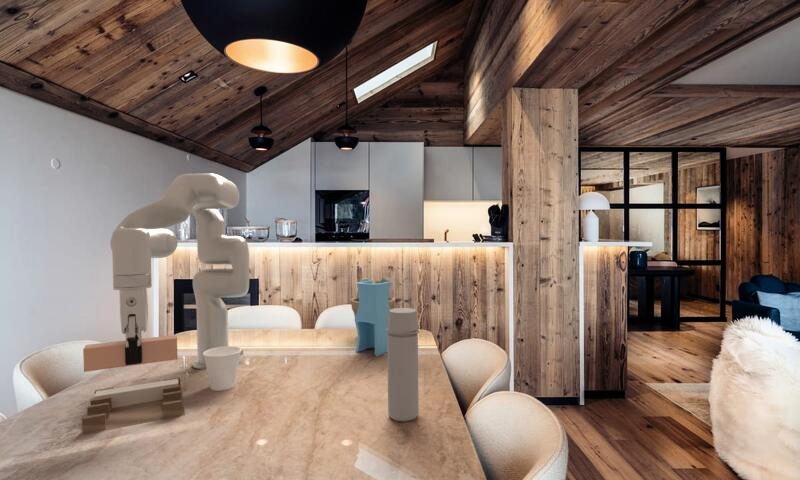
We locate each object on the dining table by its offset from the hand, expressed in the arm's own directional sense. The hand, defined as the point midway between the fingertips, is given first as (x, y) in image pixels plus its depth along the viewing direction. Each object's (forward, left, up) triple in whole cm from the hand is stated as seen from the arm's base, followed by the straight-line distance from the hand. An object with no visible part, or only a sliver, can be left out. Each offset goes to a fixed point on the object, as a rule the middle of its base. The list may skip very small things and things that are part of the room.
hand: (134, 360), depth 100 cm
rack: (0, -6, -14) cm, 16 cm away
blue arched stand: (-73, -27, -15) cm, 79 cm away
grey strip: (0, -11, -13) cm, 17 cm away
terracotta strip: (0, 0, -1) cm, 1 cm away
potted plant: (-82, -47, -15) cm, 96 cm away
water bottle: (-56, +27, -15) cm, 64 cm away
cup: (-20, -12, -15) cm, 27 cm away
